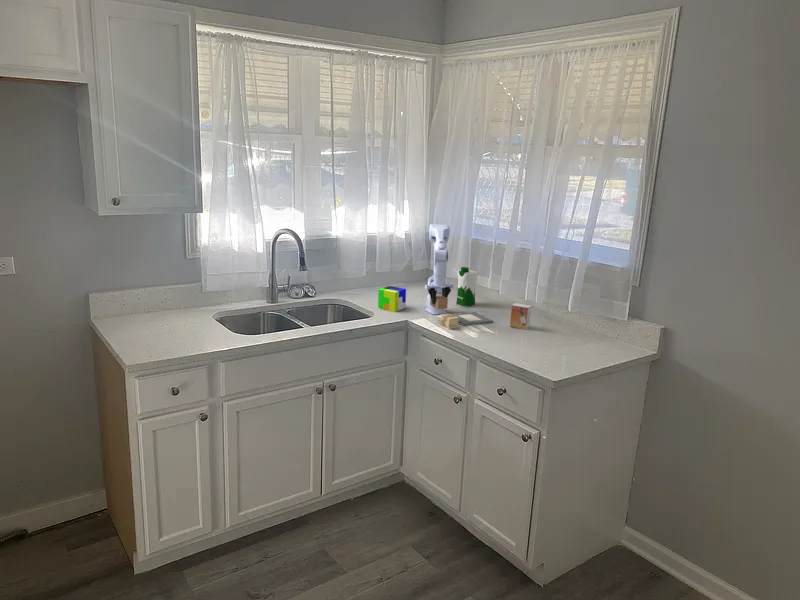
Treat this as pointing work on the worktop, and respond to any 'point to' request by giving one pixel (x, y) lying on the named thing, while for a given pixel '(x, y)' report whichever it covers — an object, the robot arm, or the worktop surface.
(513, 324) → the small box
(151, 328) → the worktop surface
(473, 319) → the board
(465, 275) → the milk carton
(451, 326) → the oak block
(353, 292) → the worktop surface
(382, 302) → the puzzle toy
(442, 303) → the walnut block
